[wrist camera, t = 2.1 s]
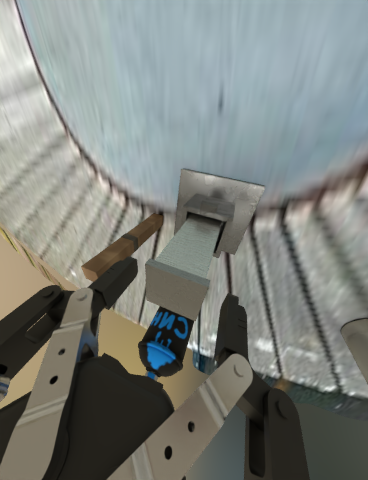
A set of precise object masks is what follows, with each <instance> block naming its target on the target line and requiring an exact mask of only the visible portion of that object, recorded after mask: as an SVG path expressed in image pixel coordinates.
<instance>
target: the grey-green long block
mask: <svg viewBox="0 0 368 480" xmlns="http://www.w3.org/2000/svg"><path fill="white" fill-rule="evenodd" d="M221 224H222V220H218V219H214V218H211V217H207V216H203V215H200V214H196V213H192V214H191V215H190V217H189V218H188V219H187V221H186V222H185V223H184V224H183V226H182V227H181V228H180V229H179V231H178V232H177V233H176V234H175V236H174V237H173V238H172V240H171V241H170V242H169V243H168V245H167V246H166V247H165V248H164V250H163V251H162V252H161V254H160V255H159V256H158V257H157V259H156V260H153V259H149V260H148V261H147V262H146V263H145V269H146V297H147V301H150V302H152V303H154V304H157V305H159V306H161V307H164V308H166V309H168V310H171V311H173V312H175V313H177V314H180V315H182V316H184V317H187V318H189V319H191V320H194V321H196V319H197V316H198V313H199V311H200V308H201V306H202V303H203V300H204V298H205V295H206V292H207V290H208V287H209V283H210V280H208V279H206V276H207V273H208V269H209V266H210V262H211V259H212V255H213V252H214V248H215V245H216V241H217V238H218V234H219V231H220V228H221Z"/></svg>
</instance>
